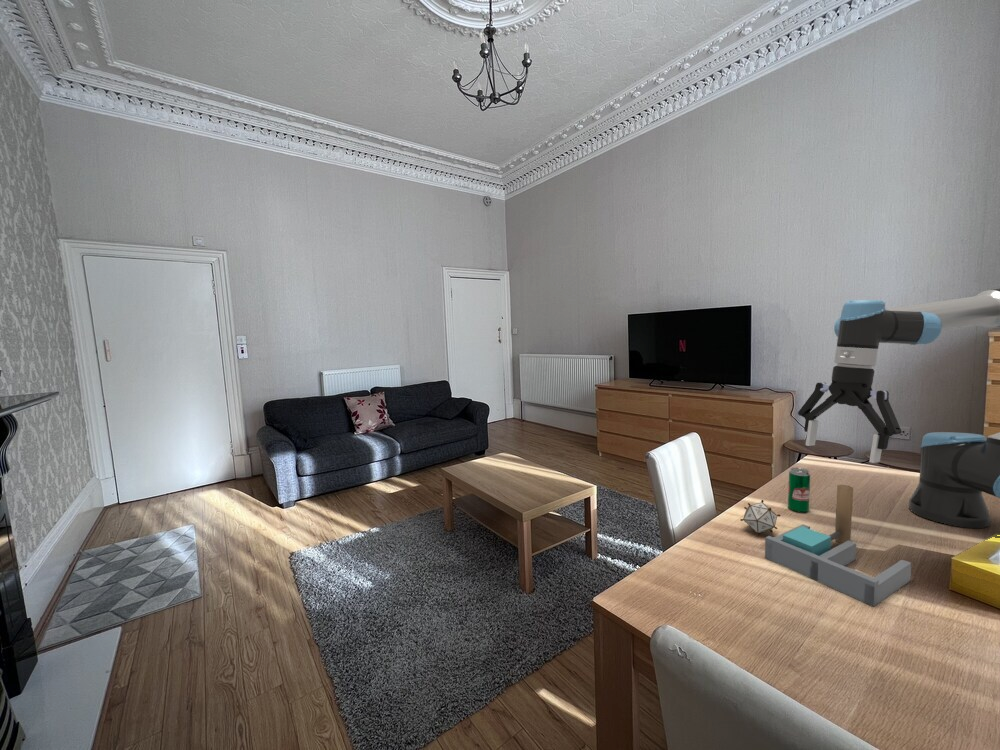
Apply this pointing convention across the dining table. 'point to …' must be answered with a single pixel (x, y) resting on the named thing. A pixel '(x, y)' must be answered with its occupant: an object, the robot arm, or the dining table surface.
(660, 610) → the dining table surface
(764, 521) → the game die
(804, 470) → the soda can
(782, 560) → the lane rack
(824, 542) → the teal block-headed stick
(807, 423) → the robot arm
